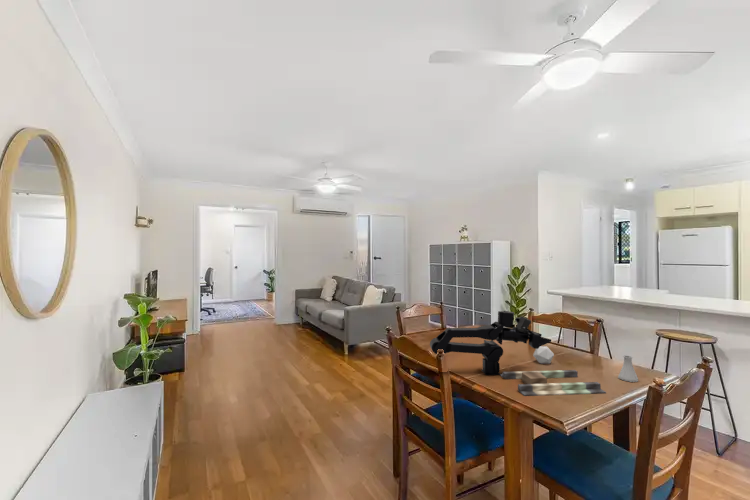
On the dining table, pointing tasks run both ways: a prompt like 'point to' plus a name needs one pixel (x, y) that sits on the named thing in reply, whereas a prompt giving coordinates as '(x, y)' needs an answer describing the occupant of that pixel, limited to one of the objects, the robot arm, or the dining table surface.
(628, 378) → the flask
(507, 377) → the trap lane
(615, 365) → the dining table surface
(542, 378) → the walnut block
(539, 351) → the die
